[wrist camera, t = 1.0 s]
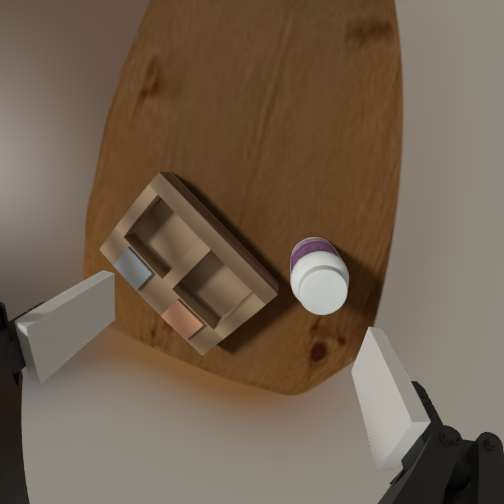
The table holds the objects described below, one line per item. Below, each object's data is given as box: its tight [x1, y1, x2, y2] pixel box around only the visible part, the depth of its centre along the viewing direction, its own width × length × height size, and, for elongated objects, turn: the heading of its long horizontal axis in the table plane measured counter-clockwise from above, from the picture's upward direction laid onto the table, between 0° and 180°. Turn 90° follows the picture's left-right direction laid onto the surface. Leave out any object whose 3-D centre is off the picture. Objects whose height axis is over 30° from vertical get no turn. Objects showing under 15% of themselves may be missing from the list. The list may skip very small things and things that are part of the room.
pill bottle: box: [290, 237, 349, 315], centre depth 27 cm, size 5×5×10 cm
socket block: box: [100, 172, 279, 355], centre depth 32 cm, size 12×18×4 cm
